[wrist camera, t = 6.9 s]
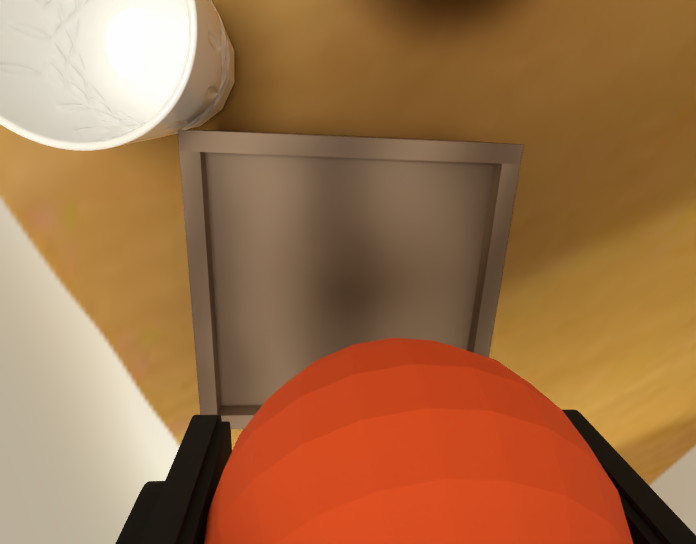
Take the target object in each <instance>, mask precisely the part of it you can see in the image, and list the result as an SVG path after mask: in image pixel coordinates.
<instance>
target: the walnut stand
mask: <svg viewBox="0 0 696 544" xmlns="http://www.w3.org/2000/svg"><path fill="white" fill-rule="evenodd" d="M178 142H179V154H180V167H181V179H182V192H183V204H184V217H185V229H186V241H187V254H188V266H189V279H190V291H191V304H192V316H193V328H194V341H195V353H196V366H197V378H198V390H199V403H200V415H221V418H222V421H229V422H230V427H231V429H245V427H246V426H247V425H248V423H249V422H250V421H251V419H252V418H253V417H254V416H255V414H256V413H257V412H258V410H259V409H260V408H261V407H262V405H263V404H264V403H265V401H266V400H267V399H268V398H269V397H270V396H272V395H273V394H274V393H275V392H276V391H277V390H278V389H280V388H281V387H282V386H283V385H284V384H285V383H287V382H288V381H289V380H291V379H292V378H293V377H295V376H296V375H297V374H299V373H300V372H301V371H303V370H304V369H305V368H307V367H308V366H309V365H311V364H312V363H313V362H315V361H316V360H318V359H321V358H323V357H325V356H328V355H330V354H332V353H335V352H337V351H339V350H342V349H344V348H346V347H349V346H351V345H354V344H359V343H365V342H371V341H377V340H383V339H389V338H406V339H421V340H434V341H437V342H441V343H444V344H448V345H451V346H454V347H457V348H461V349H464V350H467V351H470V352H473V353H476V354H479V355H482V356H485V357H488V358H489V353H490V347H491V340H492V334H493V328H494V322H495V316H496V310H497V304H498V298H499V292H500V286H501V280H502V274H503V268H504V262H505V256H506V250H507V244H508V237H509V231H510V225H511V219H512V213H513V207H514V201H515V195H516V189H517V183H518V177H519V171H520V165H521V159H522V153H523V147H524V145H521V144H506V143H492V142H477V141H459V140H436V139H413V138H390V137H366V136H343V135H320V134H297V133H274V132H251V131H227V130H178Z"/></svg>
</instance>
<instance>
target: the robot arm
mask: <svg viewBox="0 0 696 544" xmlns="http://www.w3.org/2000/svg"><path fill="white" fill-rule="evenodd" d="M562 411H563V412H564V413H565V415H566V416H567V417H568V419H569V420H570V421H571V422H572V424H573V425H574V426H575V428H576V429H577V430H578V432H579V433H580V434H581V436H582V437H583V438H584V440H585V441H586V442H587V444H588V445H589V447H590V448H591V450H592V451H593V453H594V454H595V456H596V458H597V459H598V461H599V462H600V464H601V465H602V467H603V469H604V470H605V472H606V473H607V475H608V476H609V478H610V480H611V481H612V483H613V484H614V486H615V487H616V489H617V491H618V493H619V496H620V500H621V503H622V507H623V510H624V513H625V517H626V520H627V524H628V527H629V531H630V534H631V537H632V541H633V544H696V535H695V534H694V533H693V532H692V531H691V530H690V529H689V528H688V527H687V526H686V525H685V524H684V523H683V522H682V521H681V520H680V518H679V517H678V516H677V515H676V514H675V513H674V512H673V511H672V510H671V509H670V508H669V507H668V506H667V505H666V504H665V503H664V501H663V500H662V499H661V498H660V497H659V496H658V495H657V494H656V493H655V492H654V491H653V490H652V489H651V488H650V487H649V486H648V484H647V483H646V482H645V481H644V480H643V479H642V478H641V477H640V476H639V475H638V474H637V473H636V472H635V471H634V470H633V469H632V467H631V466H630V465H629V464H628V463H627V462H626V461H625V460H624V459H623V458H622V457H621V456H620V455H619V454H618V453H617V452H616V451H615V449H614V448H613V447H612V446H611V445H610V444H609V443H608V442H607V441H606V440H605V439H604V438H603V437H602V436H601V435H600V434H599V432H598V431H597V430H596V429H595V428H594V427H593V426H592V425H591V424H590V423H589V422H588V421H587V420H586V419H585V418H584V417H583V415H582V414H581V413H579V412H578V411H577V410H562ZM231 453H232V445H231V427H230V422H229V421H222V418H221V415H194V416H193V417H192V419H191V421H190V424H189V426H188V428H187V431H186V433H185V436H184V438H183V440H182V443H181V445H180V447H179V450H178V452H177V455H176V457H175V459H174V462H173V464H172V466H171V469H170V471H169V473H168V476H167V478H166V481H151V482H147V483H146V484H145V485H144V487H143V488H142V490H141V492H140V494H139V496H138V498H137V500H136V502H135V504H134V507H133V508H132V510H131V513H130V515H129V517H128V519H127V521H126V523H125V525H124V527H123V529H122V532H121V534H120V536H119V538H118V540H117V542H116V544H204V540H205V532H206V524H207V516H208V511H209V508H210V505H211V503H212V500H213V497H214V495H215V492H216V489H217V486H218V484H219V481H220V478H221V476H222V473H223V470H224V468H225V466H226V464H227V462H228V459H229V457H230V455H231Z"/></svg>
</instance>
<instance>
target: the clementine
mask: <svg viewBox="0 0 696 544" xmlns="http://www.w3.org/2000/svg"><path fill="white" fill-rule="evenodd" d="M204 544H633V541H632V537H631V534H630V531H629V527H628V524H627V520H626V517H625V513H624V510H623V507H622V503H621V500H620V496H619V493H618V491H617V489H616V487H615V486H614V484H613V483H612V481H611V480H610V478H609V476H608V475H607V473H606V472H605V470H604V469H603V467H602V465H601V464H600V462H599V461H598V459H597V458H596V456H595V454H594V453H593V451H592V450H591V448H590V447H589V445H588V444H587V442H586V441H585V440H584V438H583V437H582V436H581V434H580V433H579V432H578V430H577V429H576V428H575V426H574V425H573V424H572V422H571V421H570V420H569V419H568V417H567V416H566V415H565V413H564V412H563V411H562V410H561V409H560V408H559V407H558V406H556V405H555V404H554V403H553V402H552V401H550V400H549V399H548V398H547V397H546V396H544V395H543V394H542V393H541V392H540V391H538V390H537V389H536V388H535V387H534V386H532V385H531V384H530V383H528V382H527V381H526V380H524V379H523V378H521V377H520V376H518V375H517V374H515V373H514V372H512V371H511V370H509V369H508V368H507V367H505V366H504V365H502V364H501V363H499V362H498V361H496V360H494V359H491V358H488V357H485V356H482V355H479V354H476V353H473V352H470V351H467V350H464V349H461V348H457V347H454V346H451V345H448V344H444V343H441V342H437V341H434V340H421V339H406V338H389V339H383V340H377V341H371V342H365V343H359V344H354V345H351V346H349V347H346V348H344V349H342V350H339V351H337V352H335V353H332V354H330V355H328V356H325V357H323V358H321V359H318V360H316V361H315V362H313V363H312V364H311V365H309V366H308V367H307V368H305V369H304V370H303V371H301V372H300V373H299V374H297V375H296V376H295V377H293V378H292V379H291V380H289V381H288V382H287V383H285V384H284V385H283V386H282V387H281V388H280V389H278V390H277V391H276V392H275V393H274V394H273V395H272V396H270V397H269V398H268V399H267V400H266V401H265V403H264V404H263V405H262V407H261V408H260V409H259V410H258V412H257V413H256V414H255V416H254V417H253V418H252V419H251V421H250V422H249V423H248V425H247V426H246V427H245V429H244V430H243V431H242V432H241V434H240V435H239V438H238V440H237V442H236V444H235V446H234V449H233V451H232V453H231V455H230V457H229V459H228V462H227V464H226V466H225V468H224V470H223V473H222V476H221V478H220V481H219V484H218V486H217V489H216V492H215V495H214V497H213V500H212V503H211V505H210V508H209V511H208V516H207V524H206V532H205V540H204Z"/></svg>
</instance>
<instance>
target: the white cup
mask: <svg viewBox="0 0 696 544" xmlns="http://www.w3.org/2000/svg"><path fill="white" fill-rule="evenodd" d="M234 83H235V70H234V48H233V46H232V44H231V41H230V39H229V37H228V35H227V32H226V30H225V28H224V25H223V22H222V20H221V18H220V15H219V13H218V12H217V10H216V8H215V6H214V4H213V2H212V0H0V124H1V125H2V126H4V127H6V128H7V129H9V130H11V131H13V132H15V133H17V134H19V135H21V136H23V137H25V138H27V139H30V140H32V141H35V142H38V143H41V144H44V145H48V146H52V147H56V148H61V149H67V150H79V151H90V150H102V149H108V148H113V147H117V146H122V145H127V144H132V143H137V142H143V141H147V140H152V139H157V138H162V137H167V136H170V135H173V134H177V133H178V130H188V129H190V128H194V127H200V126H201V125H203V124H204V123H205V122H206V121H208V120H209V119H210V118H212V117H213V116H214V115H216V114H217V113H218V112H220V111H221V110H222V109H223V107H224V105H225V102H226V100H227V98H228V96H229V94H230V92H231V89H232V87H233V85H234Z"/></svg>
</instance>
